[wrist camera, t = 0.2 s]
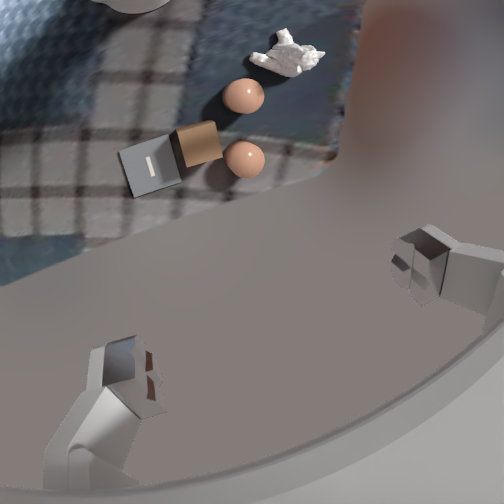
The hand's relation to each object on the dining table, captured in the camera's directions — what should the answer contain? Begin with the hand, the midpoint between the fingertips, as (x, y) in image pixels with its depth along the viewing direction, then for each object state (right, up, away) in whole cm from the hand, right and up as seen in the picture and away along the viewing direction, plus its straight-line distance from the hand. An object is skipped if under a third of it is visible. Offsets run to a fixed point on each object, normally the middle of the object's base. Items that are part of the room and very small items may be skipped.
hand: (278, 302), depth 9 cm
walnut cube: (-10, +21, +41) cm, 48 cm away
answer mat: (-19, +16, +41) cm, 48 cm away
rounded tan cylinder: (-3, +29, +39) cm, 49 cm away
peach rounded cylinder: (-3, +19, +45) cm, 49 cm away
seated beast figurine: (+4, +36, +38) cm, 53 cm away
